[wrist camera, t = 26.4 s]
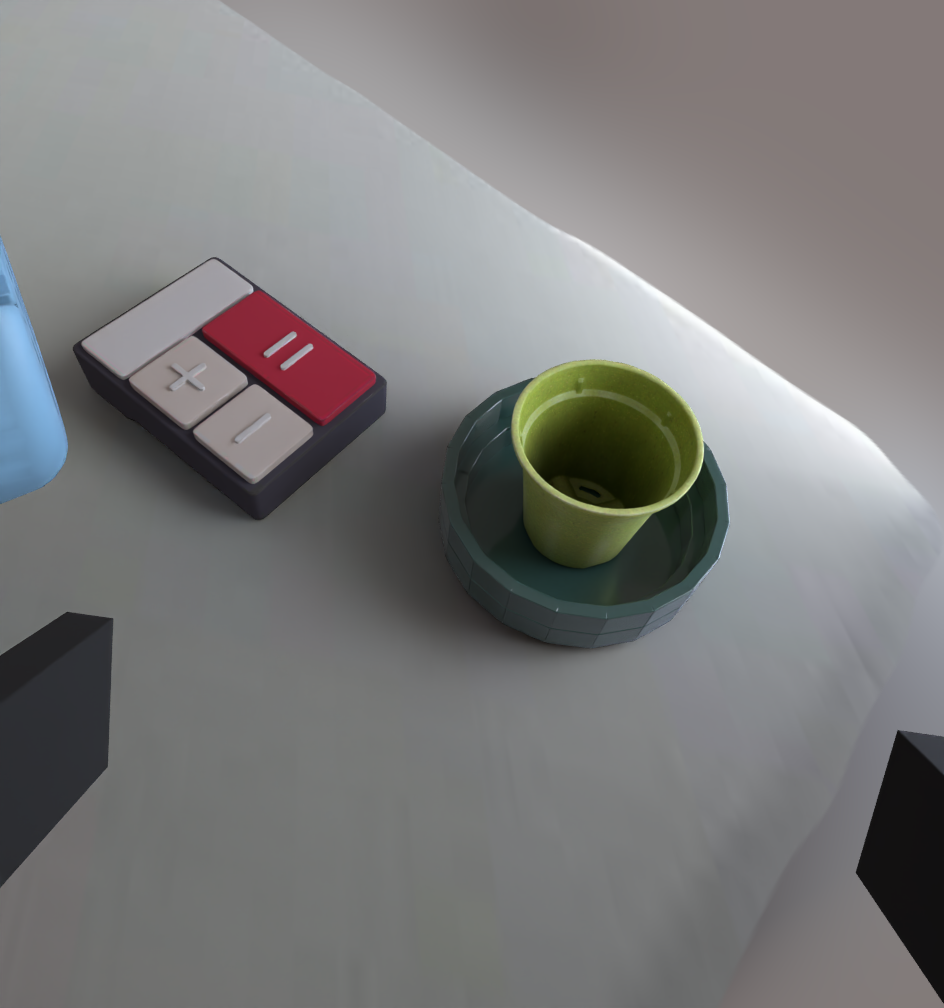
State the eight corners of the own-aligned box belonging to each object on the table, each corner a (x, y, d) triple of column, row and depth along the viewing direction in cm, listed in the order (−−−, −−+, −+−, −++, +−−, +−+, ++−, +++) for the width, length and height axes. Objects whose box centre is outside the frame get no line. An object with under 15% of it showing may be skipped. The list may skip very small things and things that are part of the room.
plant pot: (467, 556, 42) (480, 468, 35) (527, 435, 47) (551, 334, 40) (626, 623, 41) (675, 545, 33) (672, 491, 45) (723, 398, 38)
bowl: (383, 526, 43) (381, 483, 40) (551, 384, 50) (564, 335, 46) (595, 711, 39) (616, 681, 35) (749, 526, 45) (781, 484, 42)
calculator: (250, 490, 40) (63, 337, 43) (260, 528, 43) (87, 385, 47) (390, 372, 45) (212, 244, 48) (388, 416, 48) (223, 294, 52)
